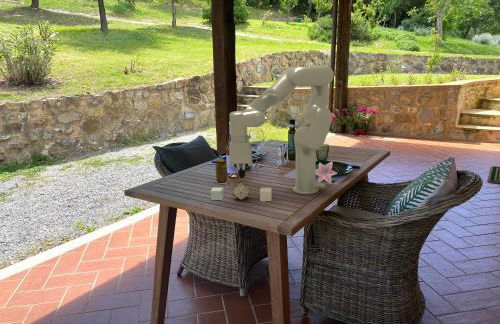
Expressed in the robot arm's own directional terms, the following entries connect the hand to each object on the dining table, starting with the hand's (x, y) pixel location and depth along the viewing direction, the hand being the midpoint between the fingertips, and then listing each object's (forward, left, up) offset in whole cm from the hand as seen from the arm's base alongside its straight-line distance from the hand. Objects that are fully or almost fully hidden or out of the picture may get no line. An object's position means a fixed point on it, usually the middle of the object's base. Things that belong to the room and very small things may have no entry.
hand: (242, 177), depth 182 cm
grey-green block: (+12, 0, -11) cm, 16 cm away
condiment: (+15, -25, -11) cm, 31 cm away
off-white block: (-11, 0, -11) cm, 15 cm away
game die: (+1, 0, -11) cm, 11 cm away
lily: (-40, -28, -11) cm, 50 cm away
